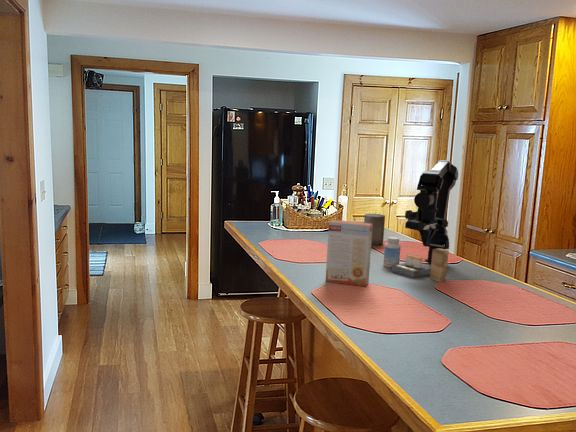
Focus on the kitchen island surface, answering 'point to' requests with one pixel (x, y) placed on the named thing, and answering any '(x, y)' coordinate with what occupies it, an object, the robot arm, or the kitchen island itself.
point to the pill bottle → (392, 252)
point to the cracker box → (349, 252)
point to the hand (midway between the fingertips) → (425, 246)
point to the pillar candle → (376, 227)
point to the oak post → (439, 264)
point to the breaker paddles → (413, 261)
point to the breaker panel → (411, 270)
